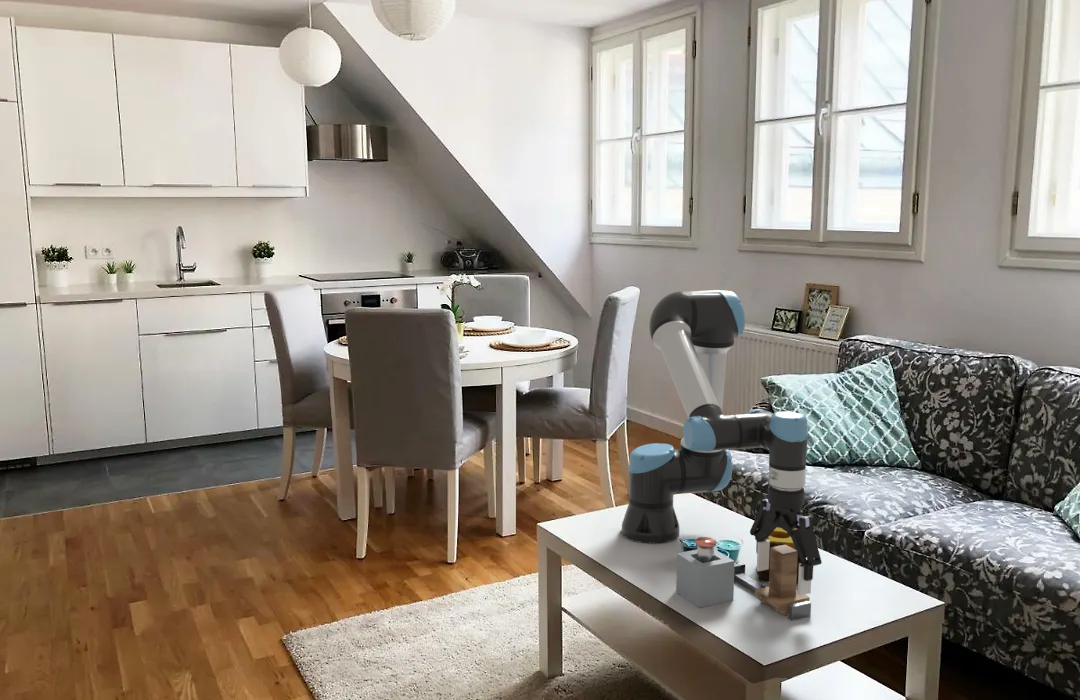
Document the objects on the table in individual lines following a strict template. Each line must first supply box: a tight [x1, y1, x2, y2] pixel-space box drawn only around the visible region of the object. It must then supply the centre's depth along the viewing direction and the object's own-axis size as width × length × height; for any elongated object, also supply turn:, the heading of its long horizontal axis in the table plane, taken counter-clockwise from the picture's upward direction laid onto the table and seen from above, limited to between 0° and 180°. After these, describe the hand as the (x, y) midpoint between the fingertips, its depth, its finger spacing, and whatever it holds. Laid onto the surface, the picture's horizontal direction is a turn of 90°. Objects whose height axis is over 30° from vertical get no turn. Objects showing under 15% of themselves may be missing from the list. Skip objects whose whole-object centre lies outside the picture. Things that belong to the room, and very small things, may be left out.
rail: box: [734, 562, 812, 621], centre depth 196 cm, size 23×5×3 cm, turn 24°
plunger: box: [695, 536, 717, 563], centre depth 196 cm, size 4×4×5 cm
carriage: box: [754, 545, 811, 616], centre depth 191 cm, size 8×8×13 cm
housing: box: [675, 548, 736, 608], centre depth 197 cm, size 9×9×9 cm
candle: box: [757, 527, 802, 585], centre depth 207 cm, size 10×10×10 cm
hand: (782, 581), depth 191 cm, fingers open, 13 cm apart
